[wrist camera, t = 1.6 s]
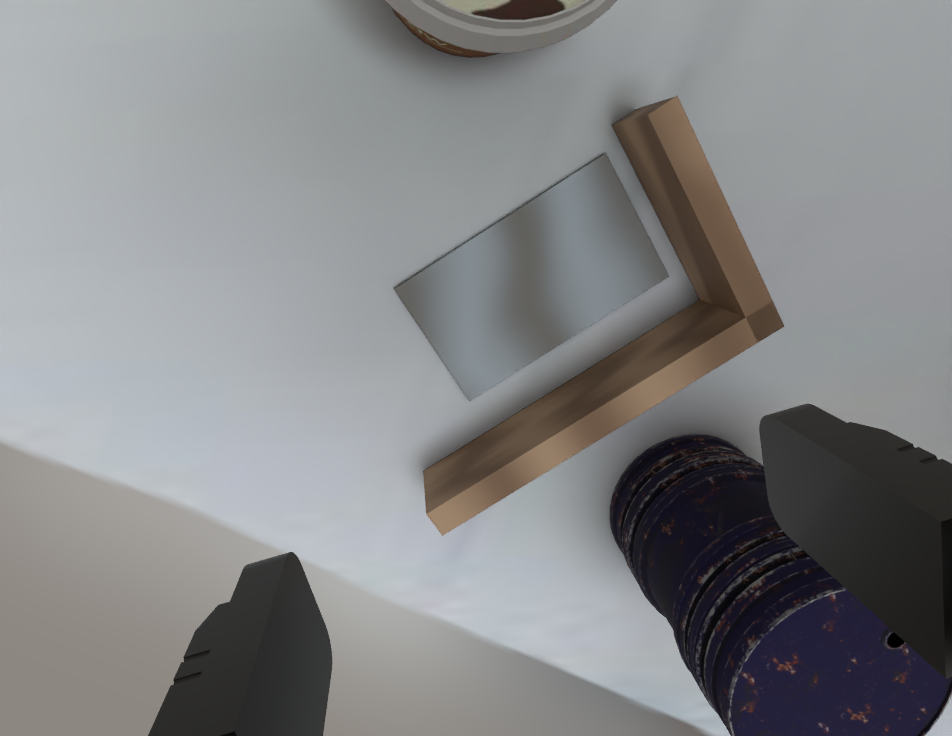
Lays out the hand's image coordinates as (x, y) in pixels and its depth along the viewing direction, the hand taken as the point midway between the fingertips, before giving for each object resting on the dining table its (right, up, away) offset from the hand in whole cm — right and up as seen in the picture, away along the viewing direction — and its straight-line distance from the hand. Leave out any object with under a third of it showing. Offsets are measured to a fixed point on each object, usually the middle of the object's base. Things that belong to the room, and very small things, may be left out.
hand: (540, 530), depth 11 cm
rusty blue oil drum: (+12, -6, +29) cm, 32 cm away
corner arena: (+2, +6, +24) cm, 25 cm away
